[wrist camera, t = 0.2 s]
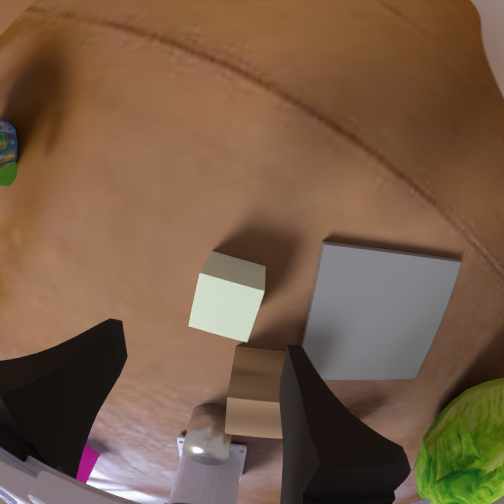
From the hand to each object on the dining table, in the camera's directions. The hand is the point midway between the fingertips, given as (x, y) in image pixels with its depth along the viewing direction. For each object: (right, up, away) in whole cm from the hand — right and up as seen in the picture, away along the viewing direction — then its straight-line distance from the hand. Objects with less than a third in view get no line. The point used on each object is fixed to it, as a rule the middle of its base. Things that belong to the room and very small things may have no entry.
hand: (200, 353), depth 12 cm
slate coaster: (+12, -1, +10) cm, 16 cm away
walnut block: (+3, -6, +13) cm, 14 cm away
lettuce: (+29, -13, +14) cm, 34 cm away
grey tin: (-2, -13, +15) cm, 20 cm away
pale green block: (+1, +2, +10) cm, 10 cm away
